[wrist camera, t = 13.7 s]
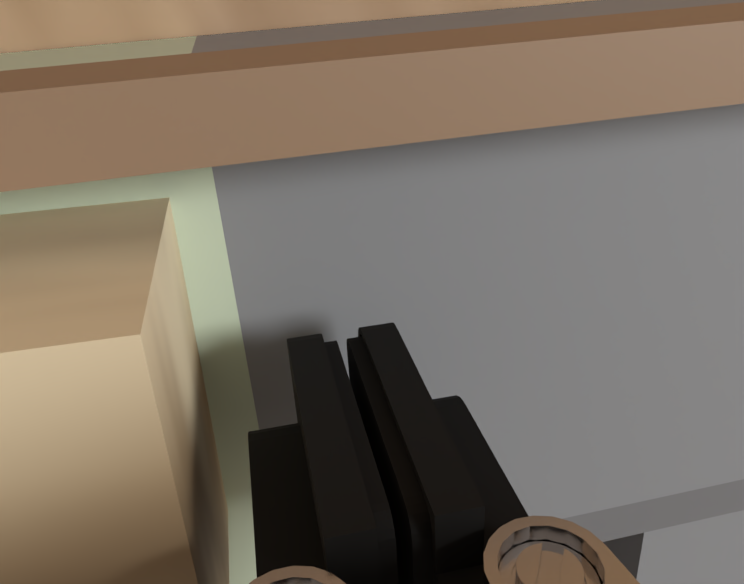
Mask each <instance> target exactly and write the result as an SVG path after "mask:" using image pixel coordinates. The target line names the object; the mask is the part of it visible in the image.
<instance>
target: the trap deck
mask: <svg viewBox="0 0 744 584" xmlns="http://www.w3.org/2000/svg"><path fill="white" fill-rule="evenodd" d="M159 198H170V203H171V208H172V214H173V219H174V224H175V230H176V235H177V240H178V246H179V251H180V256H181V262H182V267H183V272H184V278H185V283H186V288H187V294H188V299H189V304H190V310H191V315H192V320H193V326H194V331H195V336H196V342H197V347H198V352H199V358H200V363H201V368H202V374H203V379H204V384H205V389H206V395H207V400H208V405H209V411H210V416H211V421H212V427H213V432H214V437H215V443H216V448H217V453H218V459H219V464H220V469H221V475H222V480H223V485H224V491H225V496H226V501H227V507H228V534H229V584H249V583H250V582H251V581H253V580H254V579H256V578H257V572H256V556H255V541H254V525H253V509H252V493H251V478H250V462H249V446H248V432H249V431H255V430H261V429H266V428H272V427H278V426H284V425H289V424H295V423H298V421H297V414H296V407H295V399H294V392H293V384H292V377H291V370H290V362H289V355H288V347H287V339H288V338H294V337H301V336H307V335H314V334H320V333H321V334H322V336H323V339H324V342H329V341H335V340H336V341H337V342H338V345H339V349H340V352H341V355H342V358H343V361H344V364H345V367H346V371H347V374H348V377H349V368H348V357H347V339H348V338H355V337H358V329H359V327H366V326H372V325H378V324H385V323H391V322H393V323H394V324H395V325H396V327H397V329H398V331H399V333H400V335H401V337H402V339H403V341H404V343H405V345H406V347H407V349H408V351H409V353H410V355H411V357H412V359H413V361H414V363H415V365H416V367H417V369H418V371H419V374H420V376H421V378H422V380H423V382H424V384H425V386H426V388H427V390H428V392H429V394H430V396H431V398H432V399H437V398H443V397H449V396H455V395H457V396H459V397H461V399H462V400H463V401H464V403H465V404H466V406H467V408H468V410H469V412H470V413H471V415H472V417H473V419H474V420H475V422H476V424H477V426H478V427H479V429H480V431H481V433H482V435H483V436H484V438H485V440H486V442H487V443H488V445H489V447H490V449H491V450H492V452H493V454H494V456H495V458H496V459H497V461H498V463H499V465H500V466H501V468H502V470H503V472H504V473H505V475H506V477H507V479H508V481H509V482H510V484H511V486H512V488H513V489H514V491H515V493H516V495H517V496H518V498H519V500H520V502H521V504H522V505H523V507H524V509H525V511H526V512H527V514H528V516H553V517H557V518H560V519H564V520H568V521H571V522H574V523H575V524H577V525H579V526H581V527H583V528H585V529H587V530H589V531H590V532H592V533H593V534H594V535H595V536H596V537H597V538H598V539H600V540H601V541H602V542H603V543H604V544H605V545H606V546H607V547H608V548H609V549H610V550H611V551H612V553H613V554H614V555H615V556H616V557H617V558H618V559H619V561H620V562H621V563H622V564H623V565H624V566H625V567H626V568H627V570H628V571H629V572H630V573H631V574H632V575H633V576H634V577H635V579H636V580H637V581H638V582H639V583H640V584H744V0H598V1H586V2H575V3H564V4H553V5H541V6H530V7H519V8H508V9H496V10H485V11H474V12H463V13H451V14H440V15H429V16H417V17H406V18H395V19H384V20H372V21H361V22H350V23H339V24H327V25H316V26H305V27H293V28H282V29H271V30H260V31H248V32H237V33H226V34H215V35H203V36H192V37H181V38H170V39H158V40H147V41H136V42H124V43H113V44H102V45H91V46H79V47H68V48H57V49H46V50H34V51H23V52H12V53H0V215H2V214H12V213H22V212H31V211H41V210H51V209H61V208H71V207H81V206H90V205H100V204H110V203H120V202H130V201H140V200H149V199H159Z"/></svg>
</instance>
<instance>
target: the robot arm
mask: <svg viewBox="0 0 744 584" xmlns="http://www.w3.org/2000/svg"><path fill="white" fill-rule="evenodd" d="M287 347H288V355H289V362H290V370H291V377H292V384H293V392H294V399H295V407H296V414H297V421H298V423H295V424H289V425H284V426H278V427H272V428H266V429H261V430H255V431H249V432H248V446H249V462H250V478H251V493H252V509H253V525H254V541H255V556H256V572H257V578H256V579H254V580H253V581H251V582H250V583H249V584H640V583H639V582H638V581H637V580H636V579H635V577H634V576H633V575H632V574H631V573H630V572H629V571H628V570H627V568H626V567H625V566H624V565H623V564H622V563H621V562H620V561H619V559H618V558H617V557H616V556H615V555H614V554H613V553H612V551H611V550H610V549H609V548H608V547H607V546H606V545H605V544H604V543H603V542H602V541H601V540H600V539H598V538H597V537H596V536H595V535H594V534H593V533H592V532H590V531H589V530H587V529H585V528H583V527H581V526H579V525H577V524H575V523H574V522H571V521H568V520H564V519H560V518H557V517H553V516H528V514H527V512H526V511H525V509H524V507H523V505H522V504H521V502H520V500H519V498H518V496H517V495H516V493H515V491H514V489H513V488H512V486H511V484H510V482H509V481H508V479H507V477H506V475H505V473H504V472H503V470H502V468H501V466H500V465H499V463H498V461H497V459H496V458H495V456H494V454H493V452H492V450H491V449H490V447H489V445H488V443H487V442H486V440H485V438H484V436H483V435H482V433H481V431H480V429H479V427H478V426H477V424H476V422H475V420H474V419H473V417H472V415H471V413H470V412H469V410H468V408H467V406H466V404H465V403H464V401H463V400H462V399H461V397H459V396H457V395H455V396H449V397H443V398H437V399H432V398H431V396H430V394H429V392H428V390H427V388H426V386H425V384H424V382H423V380H422V378H421V376H420V374H419V371H418V369H417V367H416V365H415V363H414V361H413V359H412V357H411V355H410V353H409V351H408V349H407V347H406V345H405V343H404V341H403V339H402V337H401V335H400V333H399V331H398V329H397V327H396V325H395V324H394V323H393V322H391V323H385V324H378V325H372V326H366V327H359V329H358V337H355V338H348V339H347V357H348V368H349V377H348V374H347V371H346V367H345V364H344V361H343V358H342V355H341V352H340V349H339V345H338V342H337V341H336V340H335V341H329V342H324V339H323V336H322V334H321V333H320V334H314V335H307V336H301V337H294V338H288V339H287Z"/></svg>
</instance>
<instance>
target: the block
mask: <svg viewBox="0 0 744 584" xmlns="http://www.w3.org/2000/svg"><path fill="white" fill-rule="evenodd" d="M0 584H229V534H228V507H227V501H226V496H225V491H224V485H223V480H222V475H221V469H220V464H219V459H218V453H217V448H216V443H215V437H214V432H213V427H212V421H211V416H210V411H209V405H208V400H207V395H206V389H205V384H204V379H203V374H202V368H201V363H200V358H199V352H198V347H197V342H196V336H195V331H194V326H193V320H192V315H191V310H190V304H189V299H188V294H187V288H186V283H185V278H184V272H183V267H182V262H181V256H180V251H179V246H178V240H177V235H176V230H175V224H174V219H173V214H172V208H171V203H170V198H159V199H149V200H140V201H130V202H120V203H110V204H100V205H90V206H81V207H71V208H61V209H51V210H41V211H31V212H22V213H12V214H2V215H0Z"/></svg>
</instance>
